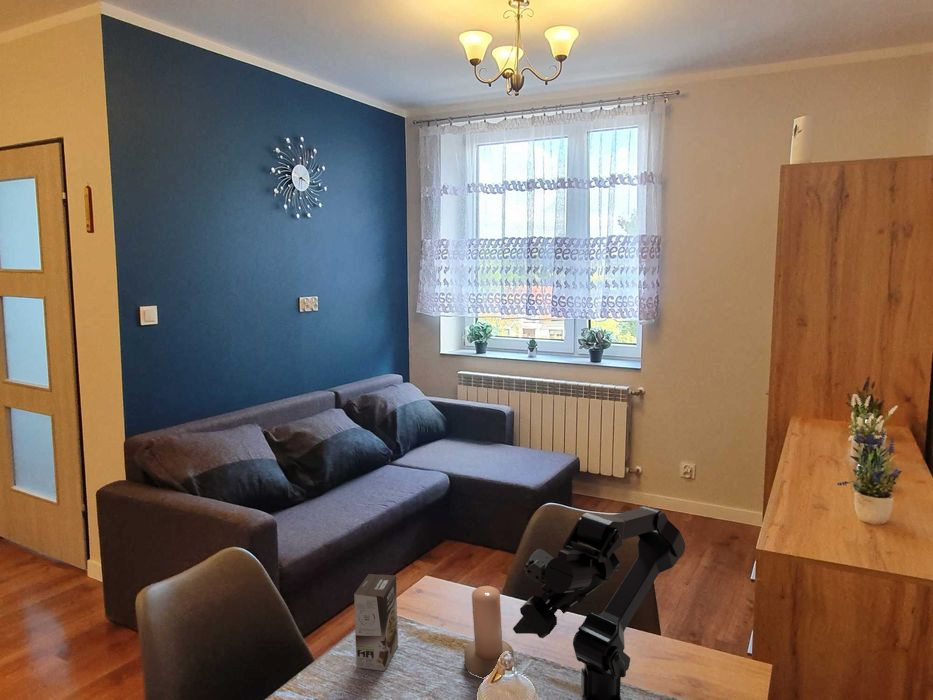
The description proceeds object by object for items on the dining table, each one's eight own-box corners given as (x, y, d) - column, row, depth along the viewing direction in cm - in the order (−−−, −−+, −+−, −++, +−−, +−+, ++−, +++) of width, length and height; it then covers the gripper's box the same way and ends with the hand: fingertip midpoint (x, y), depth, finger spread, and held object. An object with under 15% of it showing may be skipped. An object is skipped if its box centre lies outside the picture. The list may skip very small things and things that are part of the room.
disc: (511, 650, 139) (511, 637, 139) (515, 681, 129) (515, 667, 129) (464, 650, 139) (464, 637, 139) (464, 681, 129) (464, 667, 129)
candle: (500, 639, 137) (497, 584, 134) (505, 657, 131) (502, 601, 128) (473, 643, 136) (469, 587, 133) (477, 661, 131) (473, 604, 128)
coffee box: (385, 671, 132) (383, 597, 130) (355, 668, 133) (352, 594, 131) (399, 645, 141) (397, 574, 138) (370, 642, 142) (368, 572, 140)
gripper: (569, 523, 129) (518, 564, 136) (530, 563, 113) (475, 606, 120) (608, 570, 126) (554, 609, 133) (573, 617, 110) (514, 658, 117)
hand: (525, 618), depth 126 cm, fingers open, 9 cm apart
